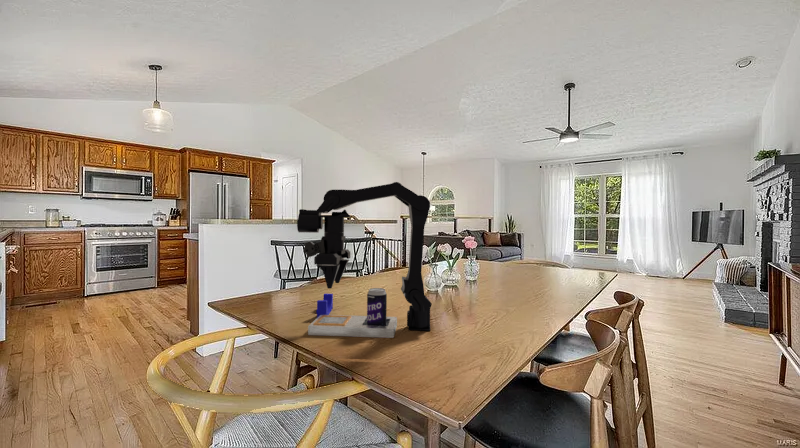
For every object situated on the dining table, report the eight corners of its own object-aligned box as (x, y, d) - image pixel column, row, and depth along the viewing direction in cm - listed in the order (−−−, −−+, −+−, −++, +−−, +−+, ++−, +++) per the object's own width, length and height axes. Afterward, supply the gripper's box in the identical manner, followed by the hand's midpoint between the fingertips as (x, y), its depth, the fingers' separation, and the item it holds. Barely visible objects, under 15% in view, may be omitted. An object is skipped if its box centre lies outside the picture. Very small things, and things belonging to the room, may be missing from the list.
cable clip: (320, 310, 125) (320, 293, 125) (332, 310, 125) (332, 293, 125) (312, 319, 113) (312, 301, 113) (326, 319, 113) (326, 301, 113)
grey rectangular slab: (396, 324, 107) (397, 315, 107) (393, 337, 95) (393, 327, 95) (320, 322, 109) (320, 313, 109) (308, 334, 97) (308, 324, 97)
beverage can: (364, 328, 103) (364, 288, 103) (382, 326, 105) (382, 287, 105) (370, 334, 98) (370, 292, 98) (389, 332, 100) (389, 290, 100)
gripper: (317, 231, 112) (316, 279, 112) (295, 233, 93) (295, 291, 94) (351, 232, 111) (350, 280, 111) (336, 234, 93) (335, 292, 93)
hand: (333, 285), depth 102 cm, fingers open, 8 cm apart
